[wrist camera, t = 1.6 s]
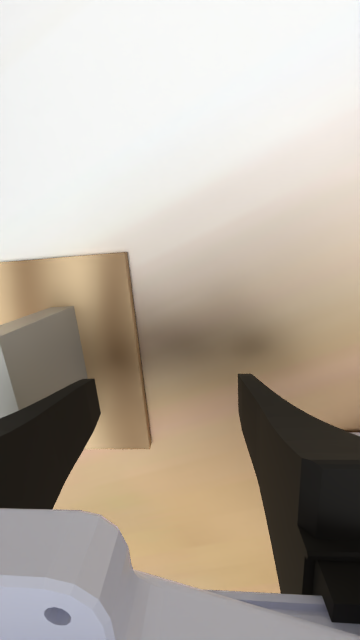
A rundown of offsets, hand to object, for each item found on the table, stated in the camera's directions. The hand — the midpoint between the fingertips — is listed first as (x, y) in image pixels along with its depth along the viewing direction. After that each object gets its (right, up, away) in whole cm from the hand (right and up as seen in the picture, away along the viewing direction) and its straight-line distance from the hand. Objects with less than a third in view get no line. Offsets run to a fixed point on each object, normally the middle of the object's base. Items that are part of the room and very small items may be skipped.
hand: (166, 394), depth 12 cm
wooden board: (-10, +1, +5) cm, 11 cm away
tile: (-7, +1, +4) cm, 8 cm away
